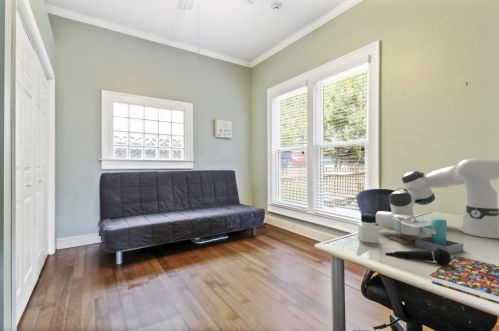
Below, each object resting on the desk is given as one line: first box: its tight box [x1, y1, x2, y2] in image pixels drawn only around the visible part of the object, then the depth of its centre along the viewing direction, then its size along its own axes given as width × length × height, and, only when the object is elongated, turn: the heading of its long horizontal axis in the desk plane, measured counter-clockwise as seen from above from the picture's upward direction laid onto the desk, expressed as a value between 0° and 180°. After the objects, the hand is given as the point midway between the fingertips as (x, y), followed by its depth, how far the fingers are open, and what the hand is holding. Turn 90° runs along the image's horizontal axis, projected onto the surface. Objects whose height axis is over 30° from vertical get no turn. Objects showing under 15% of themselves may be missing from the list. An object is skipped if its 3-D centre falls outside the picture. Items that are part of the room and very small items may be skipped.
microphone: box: [385, 248, 452, 266], centre depth 89 cm, size 6×6×20 cm
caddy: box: [414, 236, 464, 255], centre depth 102 cm, size 12×12×3 cm
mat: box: [388, 234, 419, 245], centre depth 113 cm, size 12×8×1 cm, turn 114°
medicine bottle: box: [357, 213, 380, 244], centre depth 112 cm, size 7×7×12 cm
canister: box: [430, 217, 448, 247], centre depth 102 cm, size 5×5×12 cm
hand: (441, 231), depth 102 cm, fingers closed on canister, 5 cm apart
